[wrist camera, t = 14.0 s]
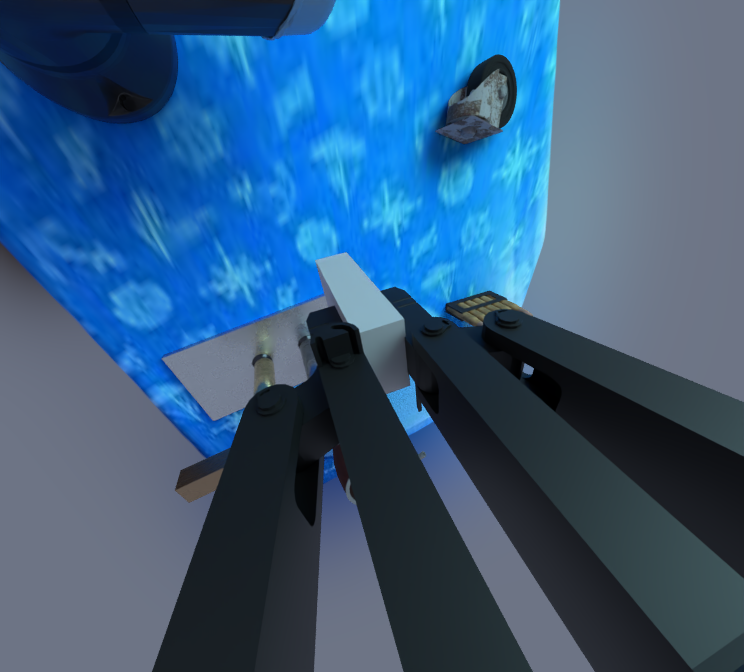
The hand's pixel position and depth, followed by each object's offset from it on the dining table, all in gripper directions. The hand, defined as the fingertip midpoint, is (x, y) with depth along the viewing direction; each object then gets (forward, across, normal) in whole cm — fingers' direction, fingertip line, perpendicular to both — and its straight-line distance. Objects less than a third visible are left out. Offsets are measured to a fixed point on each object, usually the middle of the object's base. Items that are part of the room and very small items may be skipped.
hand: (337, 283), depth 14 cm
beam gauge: (+29, -12, -23) cm, 38 cm away
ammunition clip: (+30, +30, -25) cm, 49 cm away
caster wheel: (+34, +30, +7) cm, 46 cm away
